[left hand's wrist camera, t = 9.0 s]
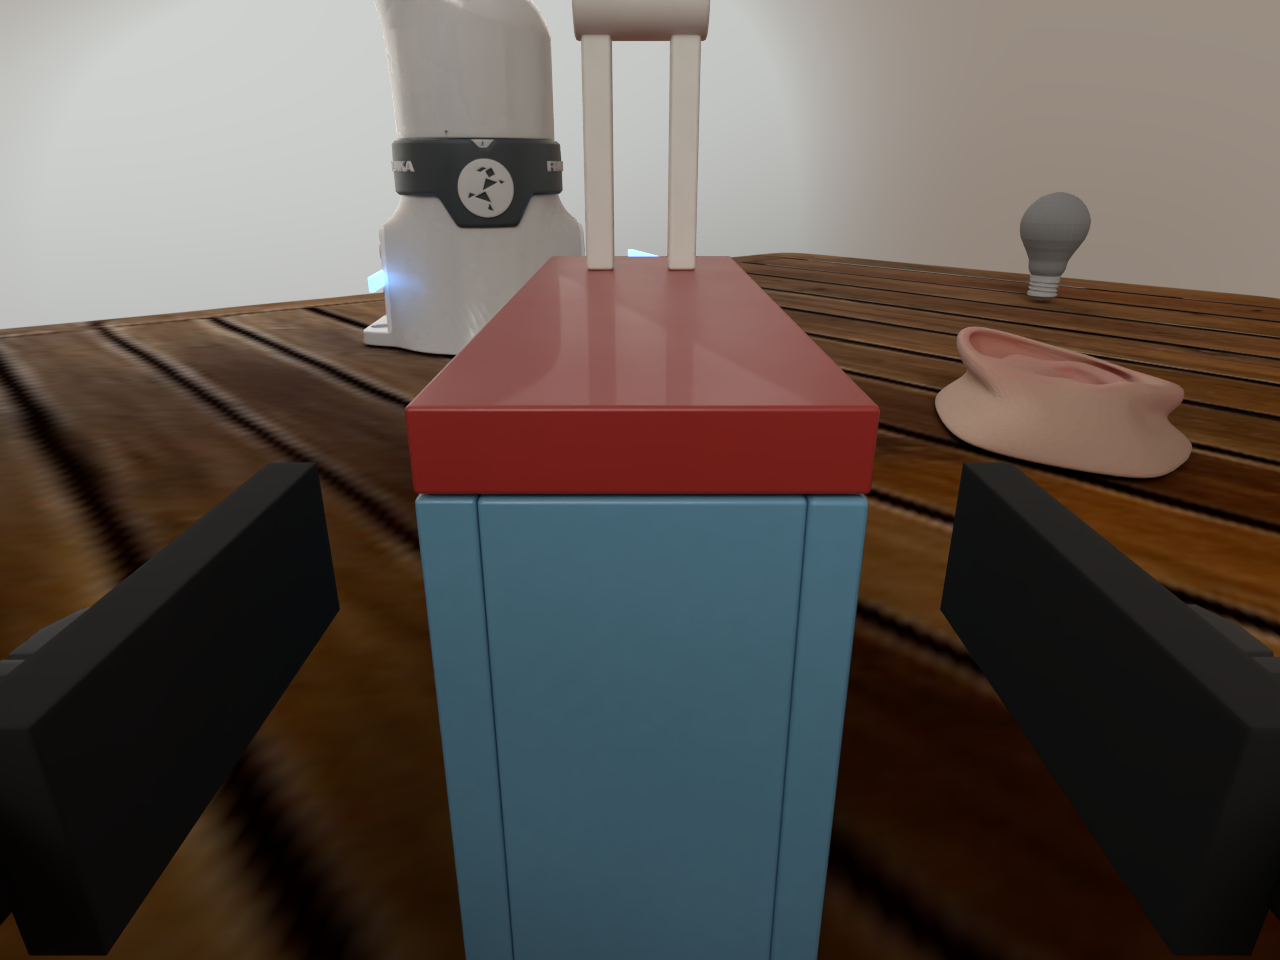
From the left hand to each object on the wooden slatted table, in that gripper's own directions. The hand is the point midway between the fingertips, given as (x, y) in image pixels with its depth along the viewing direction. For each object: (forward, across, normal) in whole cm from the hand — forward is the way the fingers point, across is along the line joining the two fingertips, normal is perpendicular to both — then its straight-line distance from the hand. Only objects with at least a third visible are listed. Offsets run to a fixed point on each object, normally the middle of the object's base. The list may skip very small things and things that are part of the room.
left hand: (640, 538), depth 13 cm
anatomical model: (+27, +21, -7) cm, 35 cm away
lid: (+5, 0, +2) cm, 5 cm away
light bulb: (+68, +40, -7) cm, 79 cm away
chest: (+4, 0, -7) cm, 8 cm away
